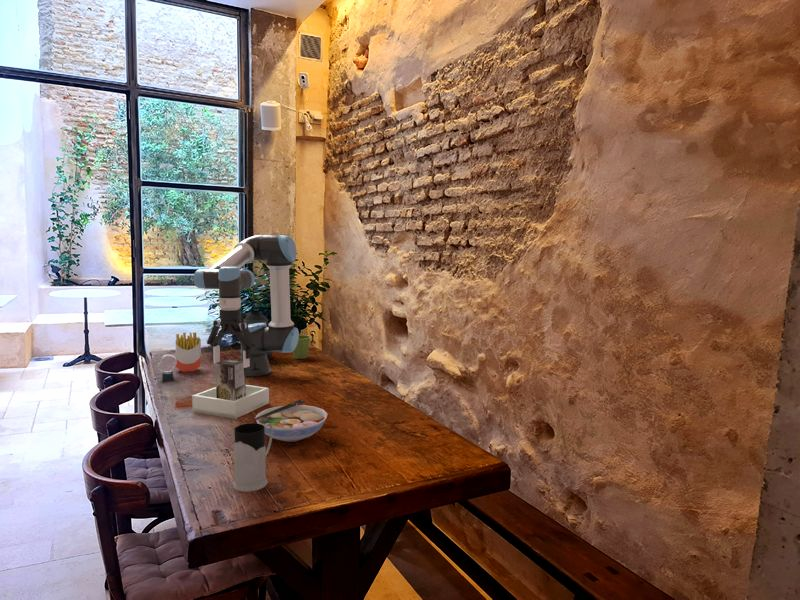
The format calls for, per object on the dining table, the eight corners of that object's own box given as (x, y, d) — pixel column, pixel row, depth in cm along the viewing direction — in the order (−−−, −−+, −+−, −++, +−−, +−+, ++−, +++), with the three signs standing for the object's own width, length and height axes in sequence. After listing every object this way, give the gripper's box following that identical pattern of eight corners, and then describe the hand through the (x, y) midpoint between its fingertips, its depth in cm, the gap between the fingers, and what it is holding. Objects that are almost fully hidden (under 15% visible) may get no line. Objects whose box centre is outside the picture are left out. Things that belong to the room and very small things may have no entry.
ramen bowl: (290, 459, 155) (290, 432, 154) (236, 442, 167) (236, 417, 166) (344, 433, 176) (344, 409, 175) (292, 420, 188) (292, 397, 187)
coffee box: (246, 403, 202) (246, 361, 200) (235, 408, 196) (234, 365, 194) (227, 400, 206) (226, 358, 204) (215, 404, 200) (214, 362, 198)
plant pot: (293, 354, 292) (293, 334, 291) (314, 355, 291) (314, 335, 290) (285, 359, 281) (285, 338, 280) (307, 360, 279) (307, 339, 278)
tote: (192, 411, 195) (192, 395, 194) (229, 396, 214) (228, 382, 213) (235, 418, 188) (234, 402, 188) (268, 403, 207) (268, 388, 206)
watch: (157, 378, 239) (156, 354, 238) (177, 376, 242) (176, 353, 241) (157, 381, 234) (156, 356, 233) (177, 379, 237) (176, 355, 236)
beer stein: (268, 362, 274) (267, 313, 271) (230, 361, 274) (229, 313, 271) (275, 355, 291) (275, 309, 288) (240, 354, 291) (239, 308, 288)
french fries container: (200, 371, 253) (199, 333, 251) (175, 372, 251) (174, 334, 248) (201, 368, 258) (200, 332, 256) (177, 369, 255) (176, 332, 253)
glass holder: (225, 487, 137) (224, 431, 135) (258, 466, 150) (258, 414, 148) (254, 494, 134) (253, 436, 132) (285, 471, 147) (285, 418, 145)
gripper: (196, 307, 198) (197, 363, 200) (251, 312, 189) (252, 371, 191) (210, 305, 205) (211, 359, 207) (264, 309, 196) (265, 366, 198)
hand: (231, 365), depth 199 cm, fingers open, 13 cm apart
